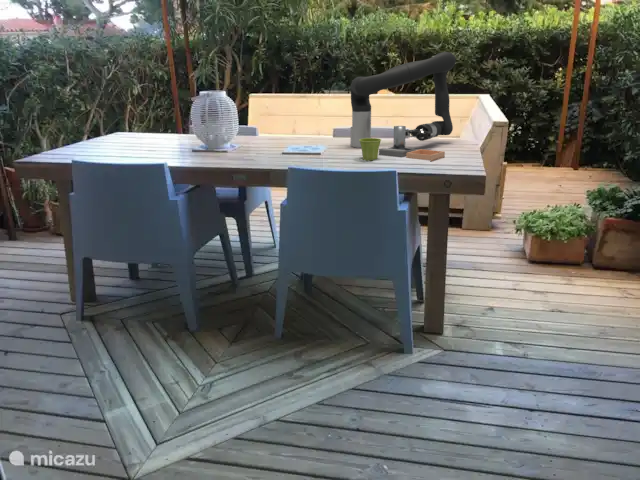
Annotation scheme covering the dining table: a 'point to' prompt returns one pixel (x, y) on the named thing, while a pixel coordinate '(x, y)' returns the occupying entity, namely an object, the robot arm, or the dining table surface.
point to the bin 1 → (395, 151)
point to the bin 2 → (426, 154)
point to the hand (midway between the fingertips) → (408, 135)
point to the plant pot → (370, 148)
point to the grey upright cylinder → (399, 137)
